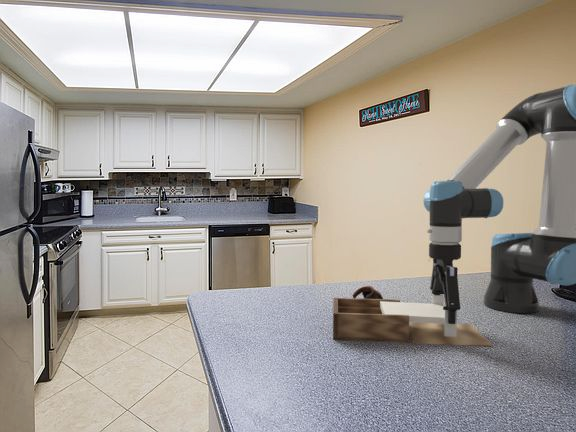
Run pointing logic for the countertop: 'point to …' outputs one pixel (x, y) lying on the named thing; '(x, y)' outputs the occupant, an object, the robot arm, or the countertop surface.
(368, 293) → the pottery mug
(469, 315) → the countertop surface
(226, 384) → the countertop surface
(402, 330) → the walnut box
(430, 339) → the cork mat
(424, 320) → the cover plate
